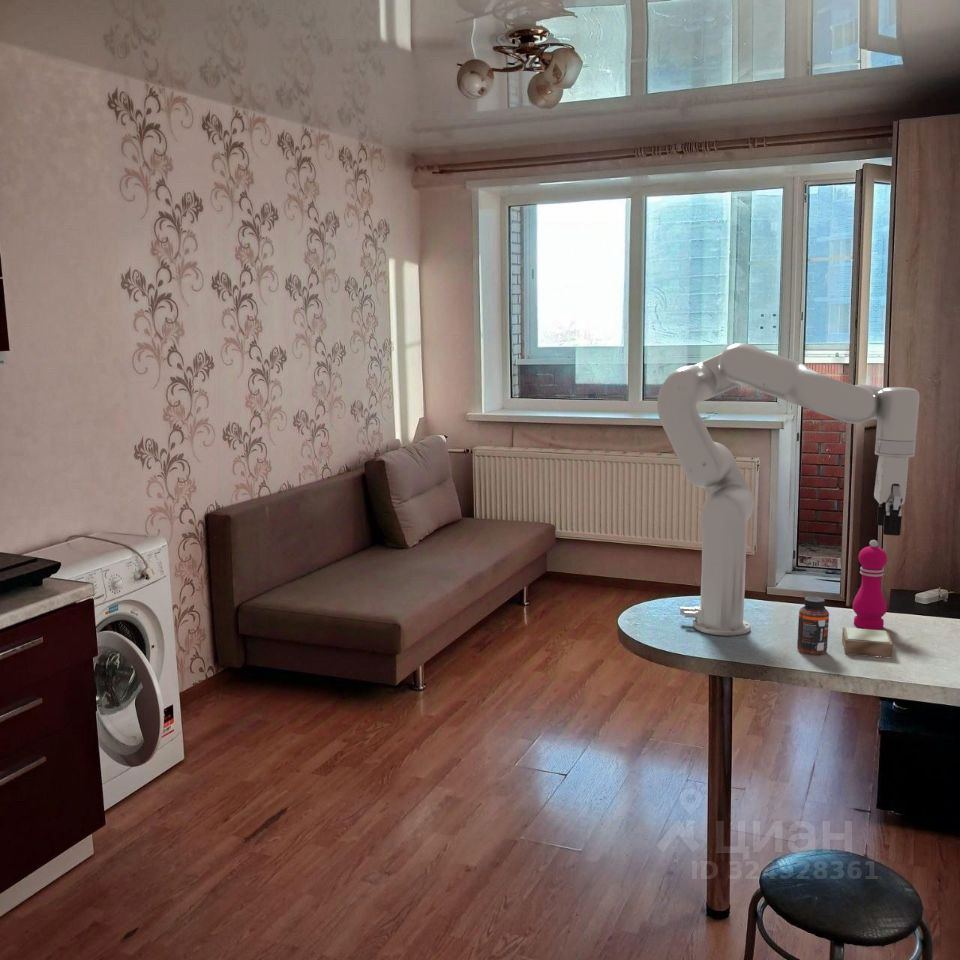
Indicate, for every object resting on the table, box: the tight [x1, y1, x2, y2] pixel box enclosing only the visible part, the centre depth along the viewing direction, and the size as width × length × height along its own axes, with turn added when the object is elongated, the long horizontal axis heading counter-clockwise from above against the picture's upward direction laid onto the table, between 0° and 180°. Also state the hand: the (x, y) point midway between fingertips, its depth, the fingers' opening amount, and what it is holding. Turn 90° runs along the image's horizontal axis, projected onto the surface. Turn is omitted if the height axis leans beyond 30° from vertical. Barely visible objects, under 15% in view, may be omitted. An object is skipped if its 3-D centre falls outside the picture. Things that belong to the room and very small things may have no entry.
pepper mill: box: [852, 539, 888, 630], centre depth 218 cm, size 7×7×20 cm
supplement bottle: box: [796, 596, 830, 656], centre depth 201 cm, size 6×6×11 cm
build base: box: [841, 627, 894, 658], centre depth 203 cm, size 9×9×3 cm
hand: (888, 530), depth 200 cm, fingers open, 9 cm apart
